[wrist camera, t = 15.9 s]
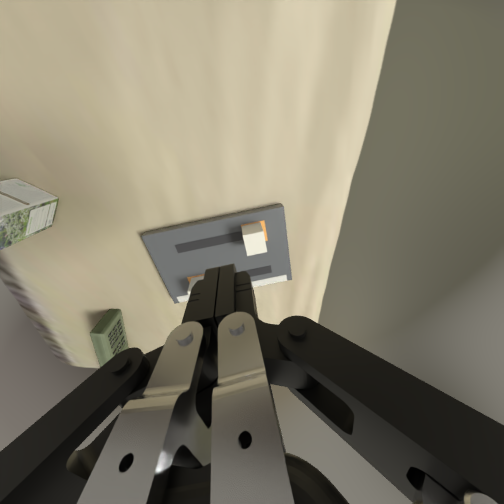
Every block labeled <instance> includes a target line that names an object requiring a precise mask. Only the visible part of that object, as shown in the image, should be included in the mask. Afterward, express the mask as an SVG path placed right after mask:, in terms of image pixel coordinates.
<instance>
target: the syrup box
mask: <svg viewBox="0 0 504 504" xmlns="http://www.w3.org/2000/svg"><path fill="white" fill-rule="evenodd" d="M57 203H58V197H56V196H54V195H52V194H50V193H48V192H46V191H44V190H41V189H39V188H37V187H35V186H33V185H31V184H28V183H26V182H24V181H22V180H20V179H17V178H15V179H9V180H3V181H0V250H1V249H4V248H6V247H8V246H10V245H12V244H14V243H17V242H19V241H21V240H23V239H25V238H27V237H30V236H32V235H34V234H36V233H38V232H40V231H42V230H45V229H47V228H49V227H51V226H52V225H53V220H54V216H55V211H56V207H57Z"/></svg>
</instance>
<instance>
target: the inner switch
mask: <svg viewBox="0 0 504 504" xmlns="http://www.w3.org/2000/svg"><path fill="white" fill-rule="evenodd" d="M242 234H243V239H244V244H245V248H246V252H247V256H250V255H255V254H260V253H265V252H267V248H266V242H265V236H264V231H263V228H262V225H261V222H259V223H254V224H249V225H245V226H242Z"/></svg>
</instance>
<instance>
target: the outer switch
mask: <svg viewBox="0 0 504 504" xmlns="http://www.w3.org/2000/svg"><path fill="white" fill-rule="evenodd" d="M202 279H204V276H199V277H194V278H191V281H190V284H189V288H188V291H187V292H188V295H189V296H190V292H191V289H192V287H193V286H194V284H195V283H196V282H197V281H198V280H202Z"/></svg>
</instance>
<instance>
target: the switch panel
mask: <svg viewBox="0 0 504 504" xmlns="http://www.w3.org/2000/svg"><path fill="white" fill-rule="evenodd" d="M259 222H261V225H262V228H263V231H264V236H265V242H266V248H267V252H265V253H260V254H255V255H250V256H247V252H246V248H245V244H244V239H243V234H242V226H245V225H249V224H254V223H259ZM141 237H142V239H143V241H144V243H145V245H146V247H147V249H148V251H149V253H150V255H151V257H152V259H153V261H154V263H155V265H156V267H157V269H158V271H159V273H160V275H161V277H162V279H163V281H164V283H165V285H166V287H167V289H168V291H169V293H170V295H171V297H172V299H173V301H174V303H180V302H184V301H188V299H189V295H188V292H187V291H188V288H189V284H190V281H191V278H194V277H199V276H204V274H205V270H206V269H209V268H214V267H219V266H224V265H229V264H233V263H234V264H235V267H236V271H237V272H241V271H246V272H247V273H248V274H249V275H250V278H251V282H252V286H253V287H258V286H263V285H268V284H273V283H278V282H283V281H287V280H292V275H291V267H290V258H289V249H288V240H287V231H286V222H285V214H284V206H283V205H282V204H276V205H272V206H267V207H262V208H257V209H253V210H248V211H243V212H238V213H234V214H229V215H224V216H219V217H214V218H210V219H205V220H200V221H195V222H191V223H186V224H181V225H176V226H172V227H167V228H162V229H157V230H152V231H148V232H145V233H144V234H143V235H142V236H141Z"/></svg>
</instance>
